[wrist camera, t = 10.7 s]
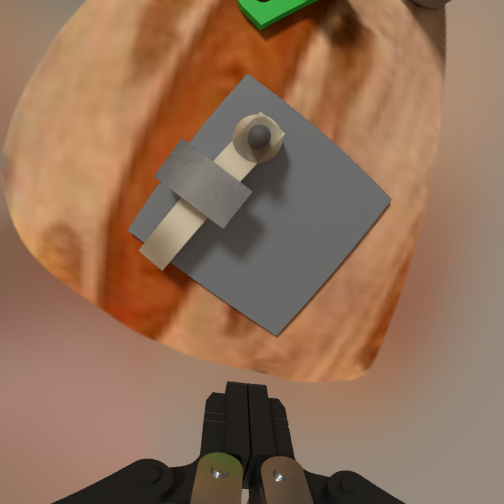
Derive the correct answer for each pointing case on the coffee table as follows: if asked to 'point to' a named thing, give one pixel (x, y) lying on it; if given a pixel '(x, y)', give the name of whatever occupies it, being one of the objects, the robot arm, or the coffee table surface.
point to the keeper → (202, 183)
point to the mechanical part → (270, 10)
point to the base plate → (273, 214)
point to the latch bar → (231, 160)
